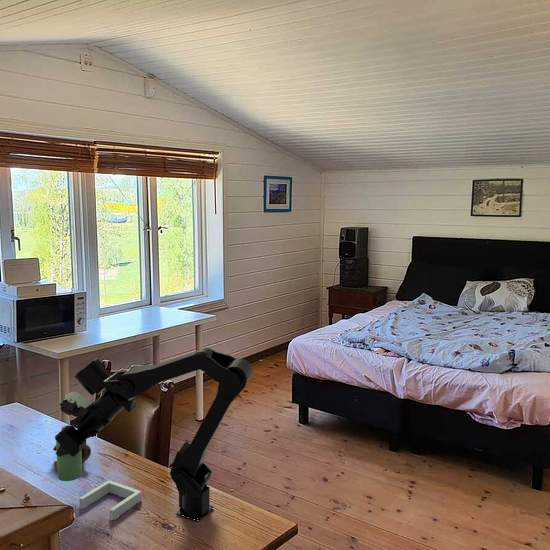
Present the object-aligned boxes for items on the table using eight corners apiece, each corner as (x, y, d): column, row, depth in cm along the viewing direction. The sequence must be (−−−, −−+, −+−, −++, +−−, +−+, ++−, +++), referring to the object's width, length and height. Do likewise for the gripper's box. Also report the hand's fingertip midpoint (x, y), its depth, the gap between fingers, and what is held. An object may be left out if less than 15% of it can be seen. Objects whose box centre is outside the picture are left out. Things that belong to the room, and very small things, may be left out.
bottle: (87, 473, 136) (85, 426, 134) (69, 483, 131) (67, 434, 129) (71, 467, 138) (69, 421, 136) (52, 477, 133) (50, 429, 132)
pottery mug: (43, 471, 148) (46, 439, 151) (68, 471, 157) (71, 441, 160) (79, 468, 144) (81, 435, 147) (103, 469, 152) (105, 438, 155)
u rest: (141, 500, 134) (141, 491, 134) (113, 521, 126) (112, 510, 126) (109, 489, 139) (108, 480, 139) (79, 507, 131) (79, 498, 130)
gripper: (99, 371, 140) (60, 410, 143) (61, 398, 121) (17, 442, 124) (130, 403, 140) (90, 441, 143) (96, 434, 121) (51, 477, 125)
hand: (63, 449), depth 134 cm, fingers closed on bottle, 6 cm apart
